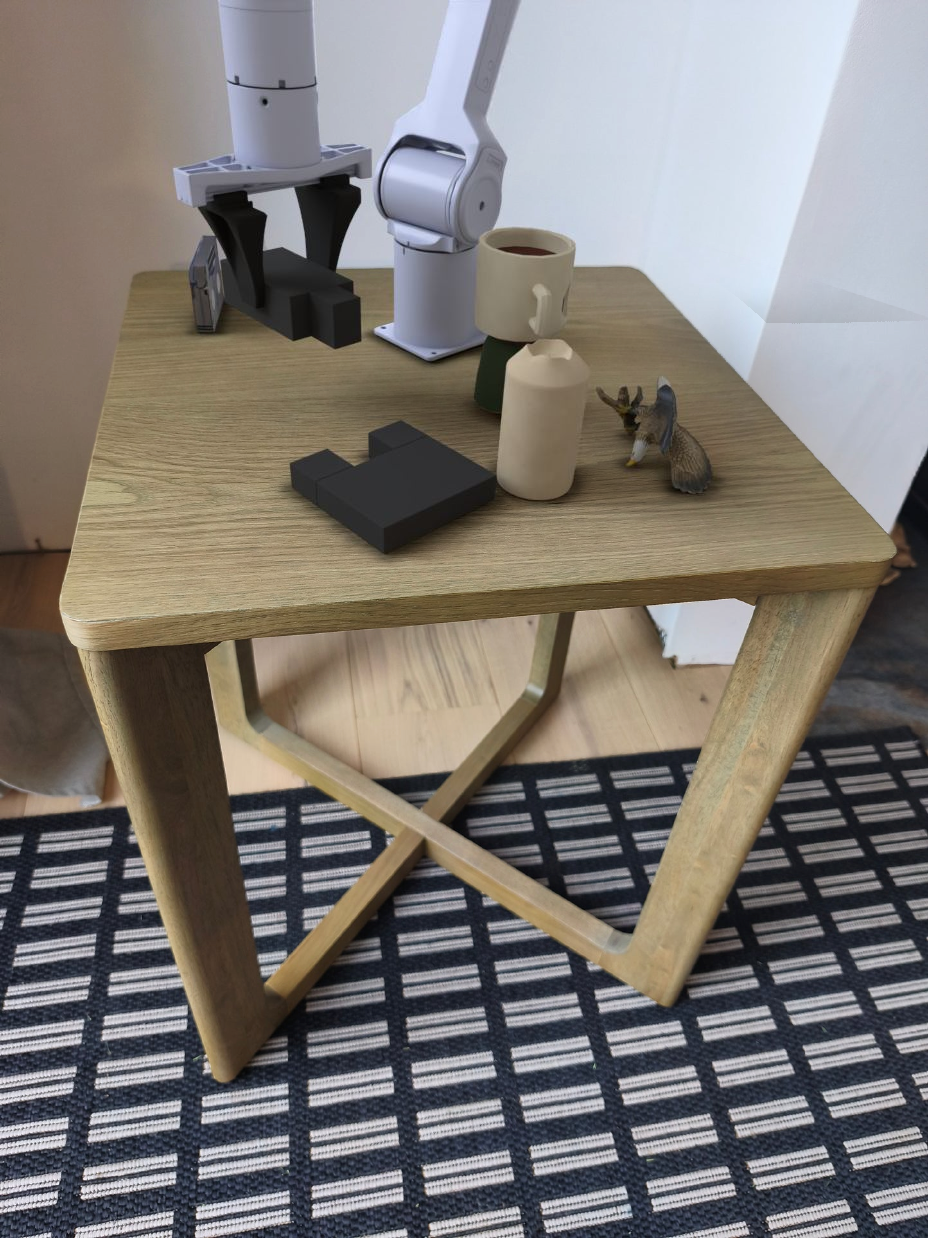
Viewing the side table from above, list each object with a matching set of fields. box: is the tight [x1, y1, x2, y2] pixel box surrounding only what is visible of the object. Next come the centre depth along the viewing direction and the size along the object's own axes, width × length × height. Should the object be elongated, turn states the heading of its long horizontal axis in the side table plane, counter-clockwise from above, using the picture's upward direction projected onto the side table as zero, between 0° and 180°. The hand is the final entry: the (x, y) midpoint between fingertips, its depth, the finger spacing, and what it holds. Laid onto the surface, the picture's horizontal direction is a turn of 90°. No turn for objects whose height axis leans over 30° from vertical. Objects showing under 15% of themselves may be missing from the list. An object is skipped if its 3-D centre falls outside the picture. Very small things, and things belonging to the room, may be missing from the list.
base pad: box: [289, 419, 498, 555], centre depth 59 cm, size 10×10×2 cm
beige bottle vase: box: [496, 338, 591, 501], centre depth 58 cm, size 6×6×10 cm
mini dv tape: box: [188, 235, 225, 333], centre depth 79 cm, size 8×2×6 cm, turn 6°
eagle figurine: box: [595, 375, 713, 495], centre depth 63 cm, size 8×7×9 cm
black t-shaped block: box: [219, 246, 363, 350], centre depth 63 cm, size 6×12×3 cm, turn 43°
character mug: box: [472, 226, 577, 414], centre depth 66 cm, size 11×7×13 cm, turn 14°
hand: (288, 294), depth 64 cm, fingers closed on black t-shaped block, 5 cm apart
